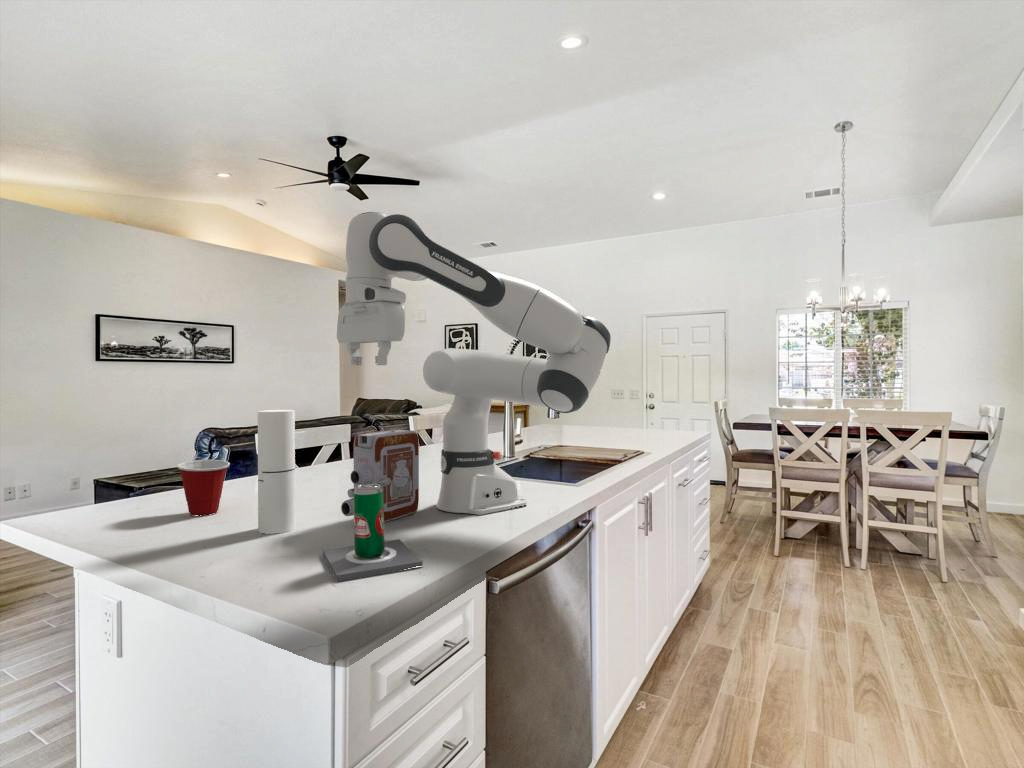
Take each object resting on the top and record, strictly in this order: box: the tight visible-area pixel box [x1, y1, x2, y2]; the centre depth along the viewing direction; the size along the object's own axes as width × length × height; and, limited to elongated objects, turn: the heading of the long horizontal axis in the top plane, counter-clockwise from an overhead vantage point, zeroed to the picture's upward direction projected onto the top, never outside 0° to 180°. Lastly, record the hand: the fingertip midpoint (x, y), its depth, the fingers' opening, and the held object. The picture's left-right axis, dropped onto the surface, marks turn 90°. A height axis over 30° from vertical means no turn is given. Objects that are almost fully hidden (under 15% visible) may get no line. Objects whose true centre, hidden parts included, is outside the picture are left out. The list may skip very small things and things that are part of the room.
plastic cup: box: [176, 459, 231, 517], centre depth 127 cm, size 11×11×12 cm
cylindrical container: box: [257, 409, 296, 535], centre depth 114 cm, size 7×7×25 cm
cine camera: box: [340, 428, 420, 523], centre depth 122 cm, size 9×19×20 cm, turn 146°
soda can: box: [352, 484, 386, 559], centre depth 94 cm, size 5×5×12 cm
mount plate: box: [322, 539, 424, 582], centre depth 94 cm, size 14×14×1 cm
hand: (368, 365), depth 109 cm, fingers open, 8 cm apart
